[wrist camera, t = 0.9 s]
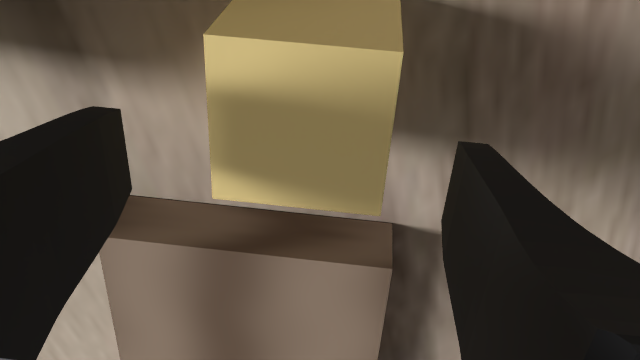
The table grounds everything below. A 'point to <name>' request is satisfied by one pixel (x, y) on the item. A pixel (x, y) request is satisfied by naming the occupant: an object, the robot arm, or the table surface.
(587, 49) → the table surface
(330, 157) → the mustard block
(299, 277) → the walnut plinth
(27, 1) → the table surface
